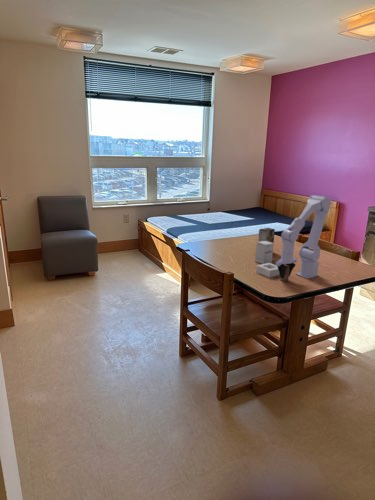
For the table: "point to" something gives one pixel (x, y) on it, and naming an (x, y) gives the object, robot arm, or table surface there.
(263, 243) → the supplement box
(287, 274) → the brown rounded cylinder
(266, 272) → the hole block
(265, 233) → the coffee box
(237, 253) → the table surface
